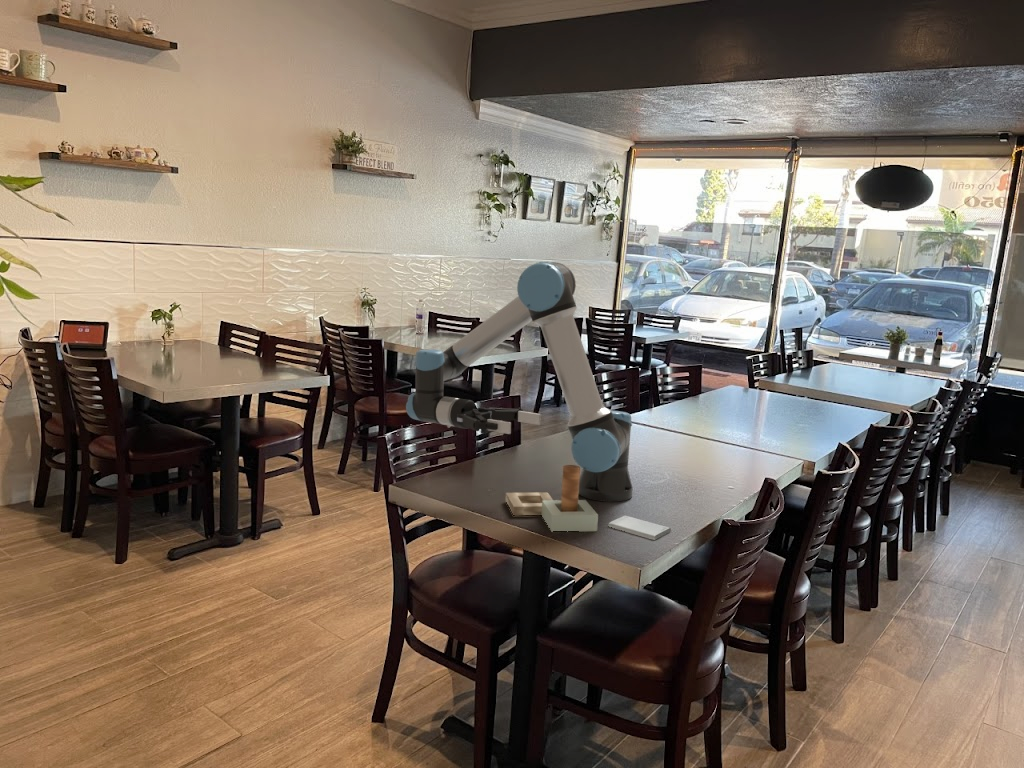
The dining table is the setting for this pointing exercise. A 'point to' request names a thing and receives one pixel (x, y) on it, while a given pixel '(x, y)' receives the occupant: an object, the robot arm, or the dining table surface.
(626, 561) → the dining table surface
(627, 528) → the hard drive
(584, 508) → the socket block
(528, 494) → the holder
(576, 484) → the peg
